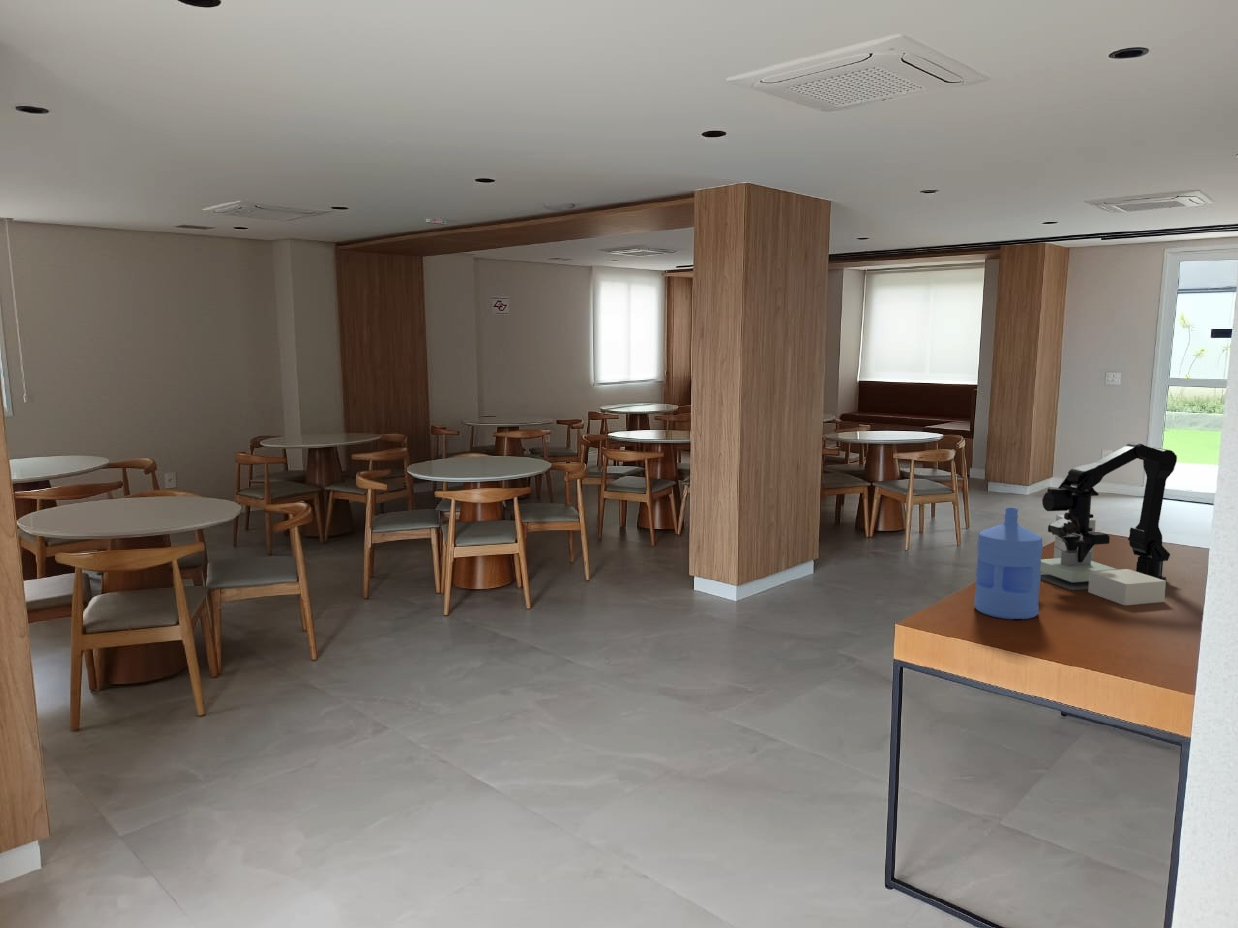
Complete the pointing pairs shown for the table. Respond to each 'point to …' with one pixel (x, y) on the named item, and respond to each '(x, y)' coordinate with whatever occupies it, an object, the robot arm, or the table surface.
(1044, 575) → the mat
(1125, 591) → the storage box
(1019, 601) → the water jug
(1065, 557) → the lid
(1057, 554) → the supplement box
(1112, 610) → the table surface
